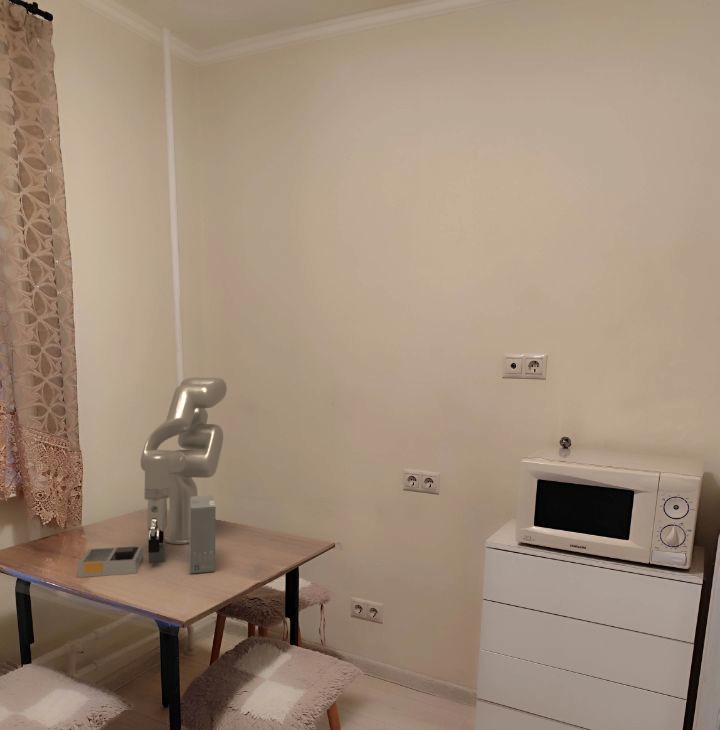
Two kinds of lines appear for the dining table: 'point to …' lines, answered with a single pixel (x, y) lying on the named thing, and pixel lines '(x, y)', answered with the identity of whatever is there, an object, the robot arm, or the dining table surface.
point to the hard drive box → (202, 534)
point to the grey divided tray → (110, 561)
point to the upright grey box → (158, 555)
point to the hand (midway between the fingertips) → (156, 547)
